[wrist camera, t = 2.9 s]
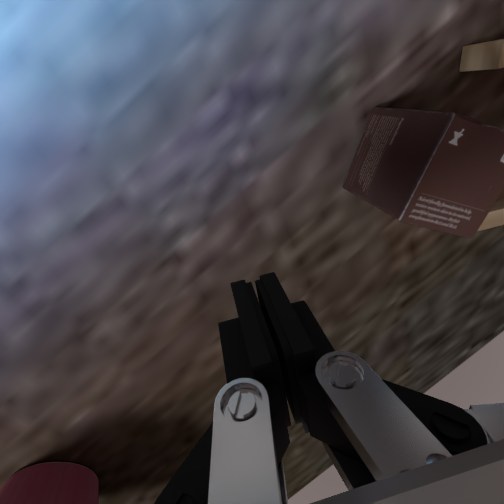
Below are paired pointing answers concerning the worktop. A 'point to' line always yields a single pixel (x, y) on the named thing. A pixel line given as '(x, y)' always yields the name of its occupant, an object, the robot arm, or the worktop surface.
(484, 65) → the channel
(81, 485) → the plant pot
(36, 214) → the worktop surface
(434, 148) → the box
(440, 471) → the robot arm
